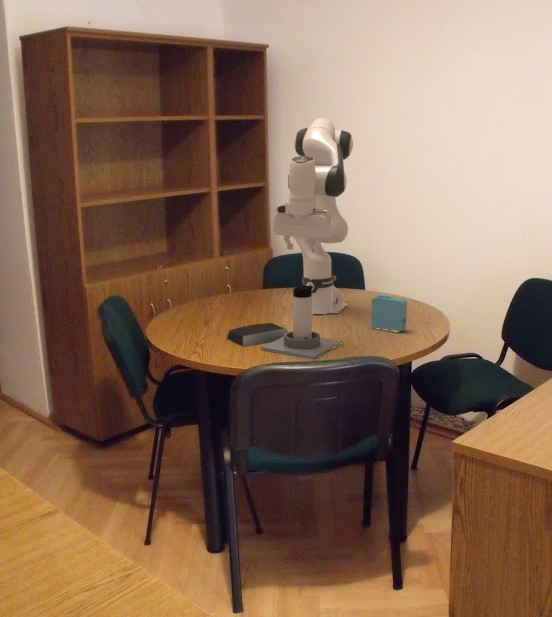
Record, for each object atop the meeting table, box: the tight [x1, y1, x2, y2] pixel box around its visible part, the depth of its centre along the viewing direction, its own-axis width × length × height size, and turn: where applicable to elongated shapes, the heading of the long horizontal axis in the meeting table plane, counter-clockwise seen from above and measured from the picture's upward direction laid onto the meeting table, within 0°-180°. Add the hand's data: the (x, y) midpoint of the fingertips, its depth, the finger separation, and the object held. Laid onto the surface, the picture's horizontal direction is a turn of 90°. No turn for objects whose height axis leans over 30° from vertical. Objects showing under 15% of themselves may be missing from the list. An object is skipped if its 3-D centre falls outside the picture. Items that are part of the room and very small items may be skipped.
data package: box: [370, 295, 408, 332], centre depth 262 cm, size 12×4×12 cm, turn 56°
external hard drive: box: [226, 322, 289, 348], centre depth 253 cm, size 13×19×4 cm
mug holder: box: [260, 330, 343, 360], centre depth 242 cm, size 20×20×4 cm
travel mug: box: [292, 285, 313, 340], centre depth 240 cm, size 6×7×20 cm
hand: (302, 250), depth 235 cm, fingers open, 8 cm apart
